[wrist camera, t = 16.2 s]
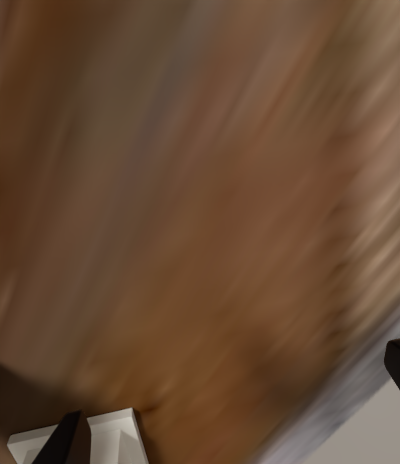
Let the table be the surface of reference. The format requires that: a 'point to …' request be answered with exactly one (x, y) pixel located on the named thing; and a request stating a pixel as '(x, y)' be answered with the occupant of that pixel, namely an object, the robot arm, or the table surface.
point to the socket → (102, 440)
